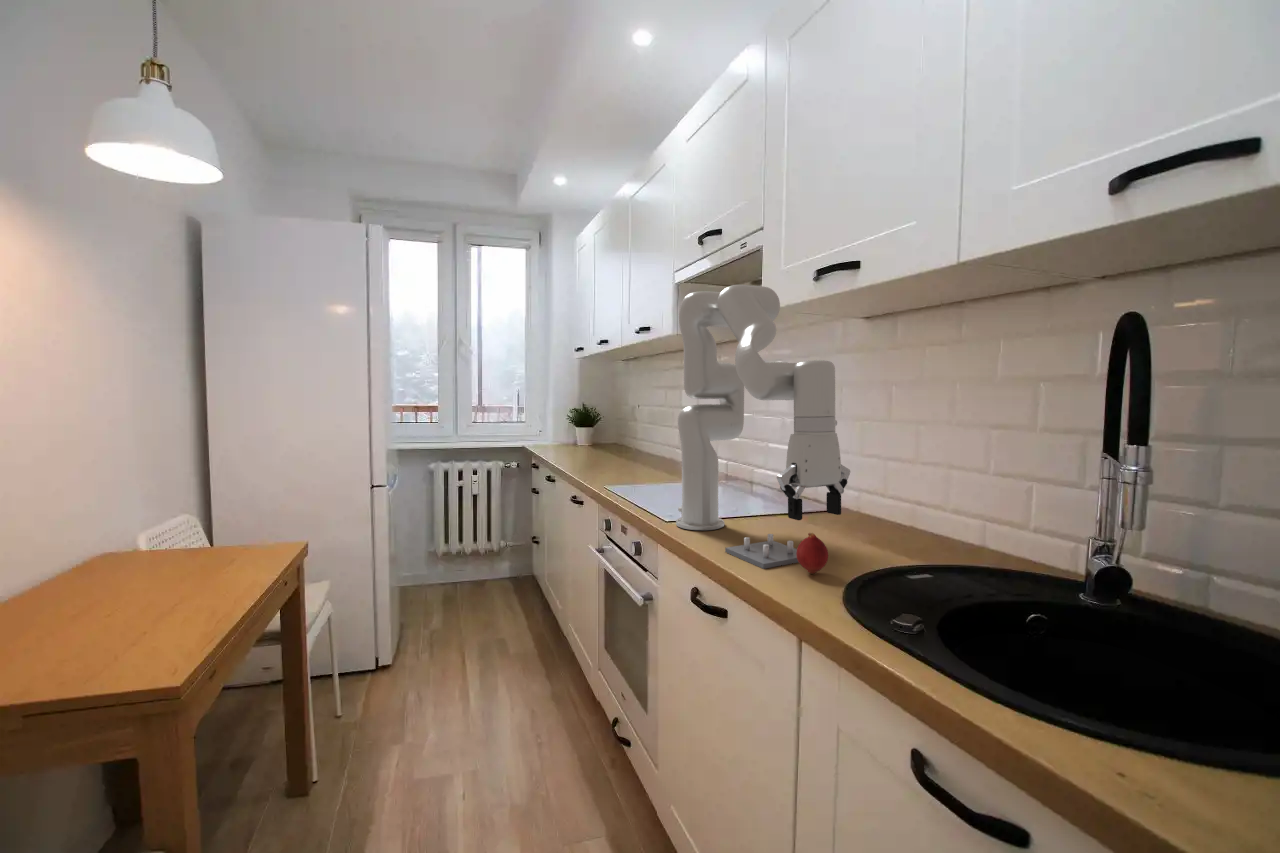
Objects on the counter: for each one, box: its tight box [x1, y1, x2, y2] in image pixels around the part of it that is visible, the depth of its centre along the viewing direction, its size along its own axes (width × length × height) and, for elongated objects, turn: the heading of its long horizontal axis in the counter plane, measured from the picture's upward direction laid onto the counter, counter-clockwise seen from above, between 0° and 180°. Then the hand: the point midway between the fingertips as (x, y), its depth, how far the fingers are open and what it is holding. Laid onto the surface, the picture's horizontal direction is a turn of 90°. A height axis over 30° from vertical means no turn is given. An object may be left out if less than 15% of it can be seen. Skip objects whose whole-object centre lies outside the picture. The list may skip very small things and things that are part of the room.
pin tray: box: [724, 533, 799, 570], centre depth 120 cm, size 13×13×4 cm
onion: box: [796, 532, 829, 575], centre depth 108 cm, size 6×6×8 cm
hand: (814, 516), depth 107 cm, fingers open, 9 cm apart
